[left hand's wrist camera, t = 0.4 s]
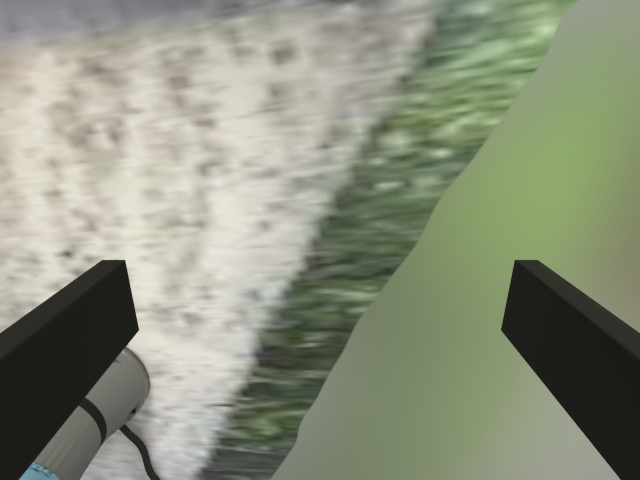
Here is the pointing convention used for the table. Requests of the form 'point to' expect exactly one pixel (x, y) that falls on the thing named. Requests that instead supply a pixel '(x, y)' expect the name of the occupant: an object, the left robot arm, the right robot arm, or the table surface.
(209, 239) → the table surface
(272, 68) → the table surface
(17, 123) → the table surface
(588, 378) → the left robot arm
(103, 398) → the right robot arm
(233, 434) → the table surface
